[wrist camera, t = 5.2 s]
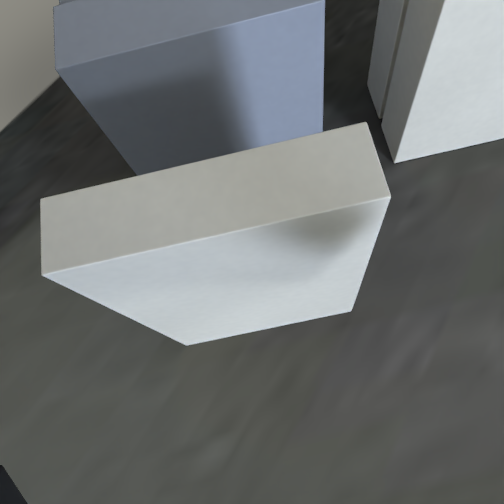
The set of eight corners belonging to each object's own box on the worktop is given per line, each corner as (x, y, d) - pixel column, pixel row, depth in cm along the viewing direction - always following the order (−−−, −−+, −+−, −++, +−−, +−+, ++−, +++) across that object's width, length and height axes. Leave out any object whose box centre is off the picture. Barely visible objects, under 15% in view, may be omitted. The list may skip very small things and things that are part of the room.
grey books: (322, 169, 29) (325, -12, 17) (160, 206, 30) (47, 60, 17) (286, 37, 33) (267, -189, 21) (144, 73, 34) (42, -124, 21)
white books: (552, 127, 28) (786, -155, 14) (393, 163, 29) (466, -71, 15) (512, 48, 30) (680, -261, 16) (366, 84, 31) (406, -184, 17)
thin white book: (351, 311, 26) (391, 196, 12) (186, 345, 27) (40, 275, 13) (341, 271, 27) (366, 120, 13) (181, 305, 28) (39, 198, 14)
